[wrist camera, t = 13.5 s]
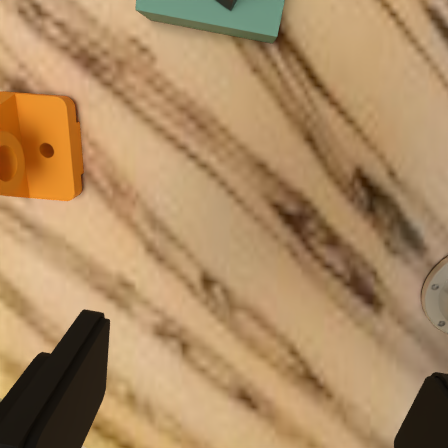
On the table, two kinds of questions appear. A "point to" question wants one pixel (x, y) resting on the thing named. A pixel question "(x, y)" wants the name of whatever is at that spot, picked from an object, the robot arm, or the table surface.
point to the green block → (219, 16)
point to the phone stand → (227, 3)
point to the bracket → (39, 147)
